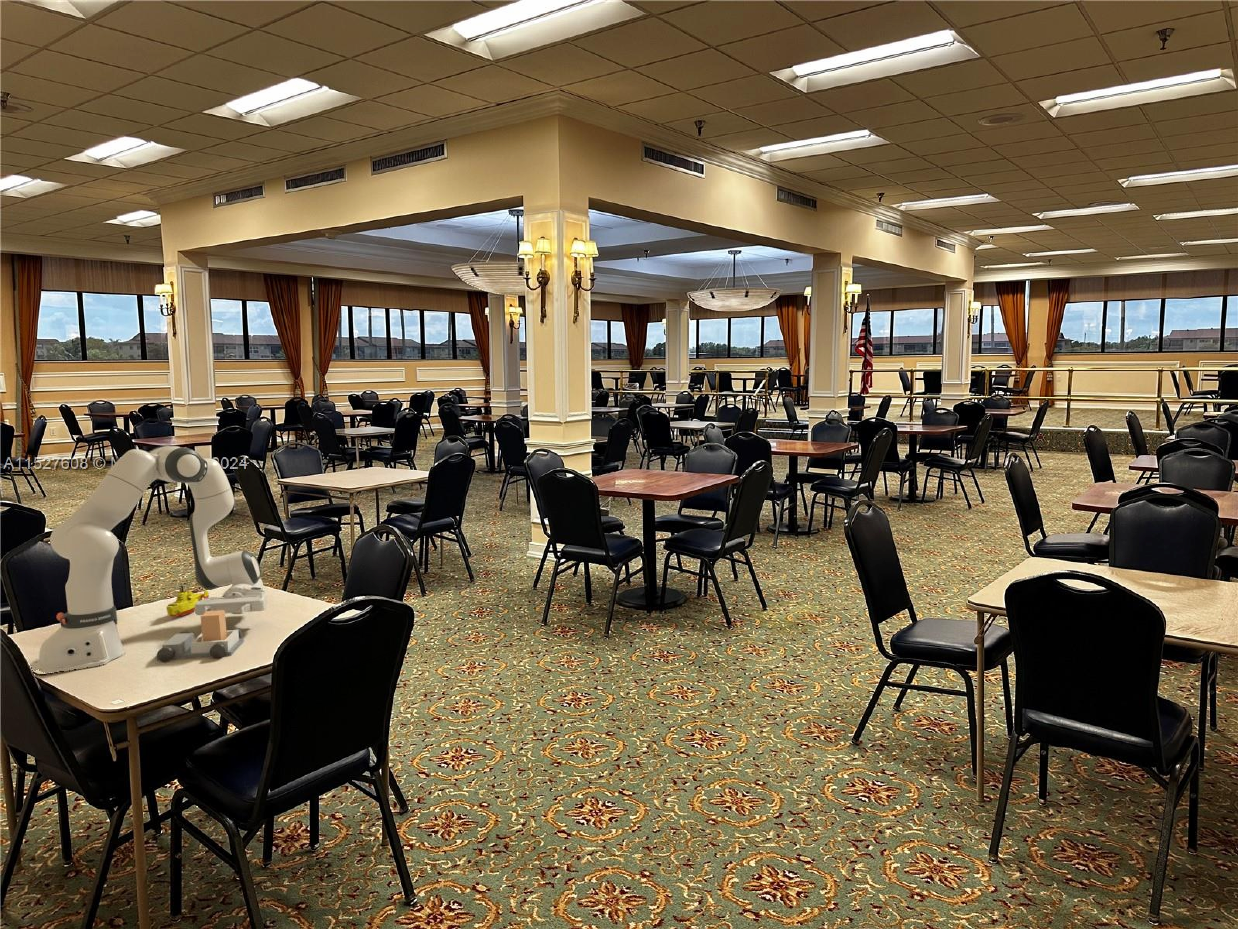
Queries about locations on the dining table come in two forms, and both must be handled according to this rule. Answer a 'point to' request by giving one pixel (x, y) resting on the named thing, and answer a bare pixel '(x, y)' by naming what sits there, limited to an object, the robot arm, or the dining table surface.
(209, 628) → the block
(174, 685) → the dining table surface
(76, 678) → the dining table surface
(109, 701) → the dining table surface
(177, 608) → the toy boat
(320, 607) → the dining table surface
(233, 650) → the chassis
